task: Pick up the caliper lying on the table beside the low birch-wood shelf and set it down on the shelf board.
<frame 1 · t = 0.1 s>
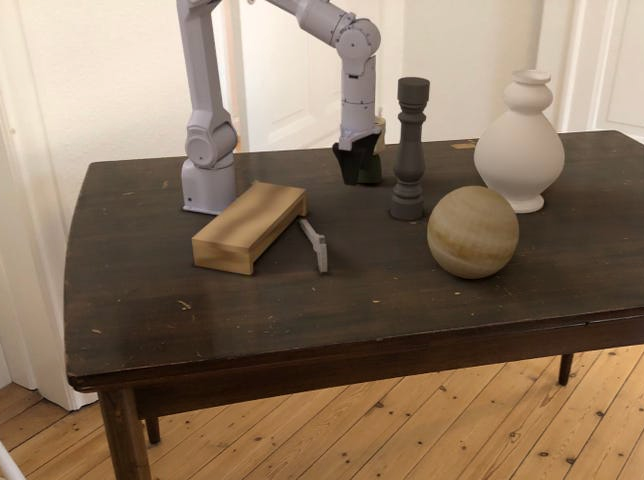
hand: (357, 177, 132), 10 cm above the table, tool pointing down, fingers open, 7 cm apart
decorative vase: (512, 201, 152), on the table
decorative ball: (468, 274, 126), on the table
candle holder: (406, 214, 145), on the table
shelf: (254, 237, 133), on the table
caliper: (312, 248, 131), on the table
character mug: (367, 182, 157), on the table
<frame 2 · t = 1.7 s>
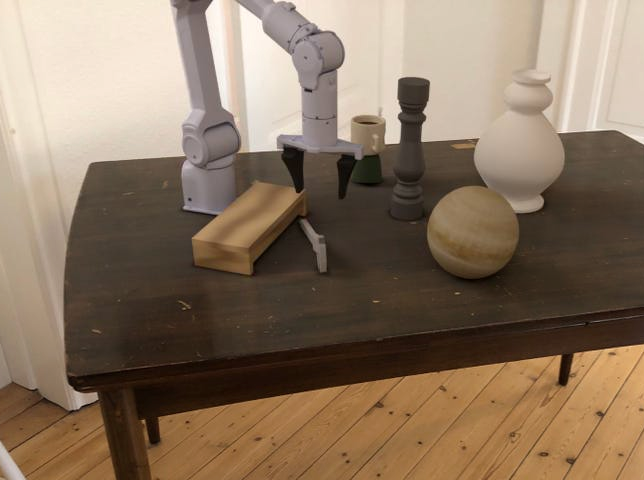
hand: (321, 194, 127), 9 cm above the table, tool pointing down, fingers open, 7 cm apart
nothing on the table moved.
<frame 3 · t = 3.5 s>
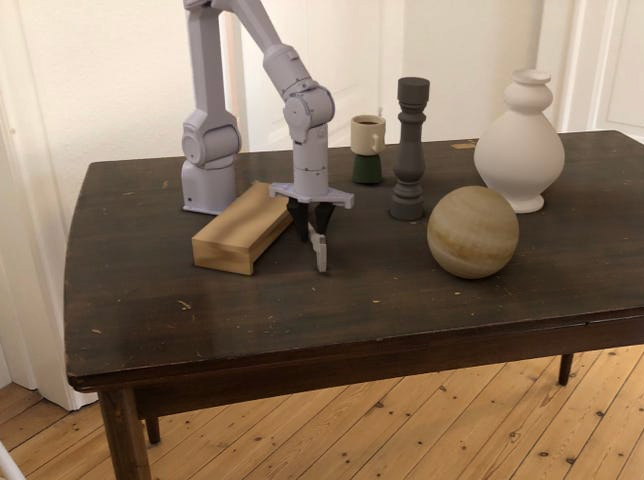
hand: (312, 239, 130), 1 cm above the table, tool pointing down, fingers closed on caliper, 2 cm apart
caliper: (312, 248, 131), on the table, touching gripper
everything else where it was.
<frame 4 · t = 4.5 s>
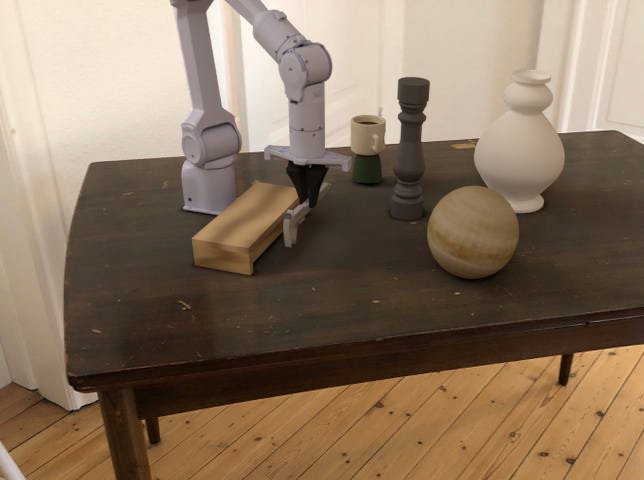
hand: (308, 205, 126), 8 cm above the table, tool pointing down, fingers closed on caliper, 1 cm apart
caliper: (310, 217, 128), point 6 cm above the table, touching gripper
everything else where it was.
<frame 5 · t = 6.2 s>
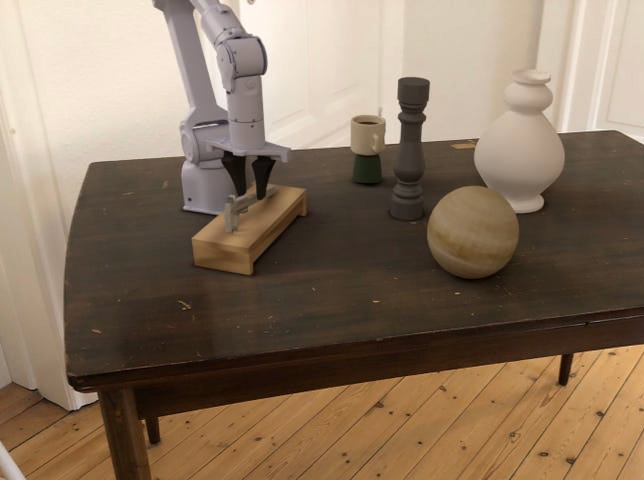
hand: (251, 196, 128), 8 cm above the table, tool pointing down, fingers open, 3 cm apart
caliper: (254, 212, 130), point 5 cm above the table, touching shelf
everything else where it was.
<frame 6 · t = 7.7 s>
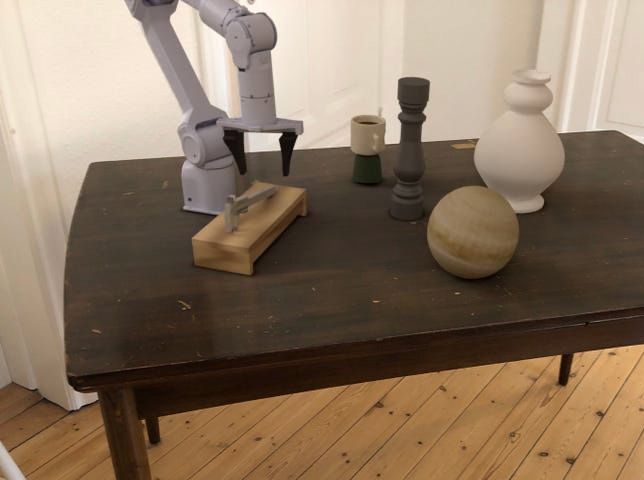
hand: (264, 173, 130), 10 cm above the table, tool pointing down, fingers open, 7 cm apart
nothing on the table moved.
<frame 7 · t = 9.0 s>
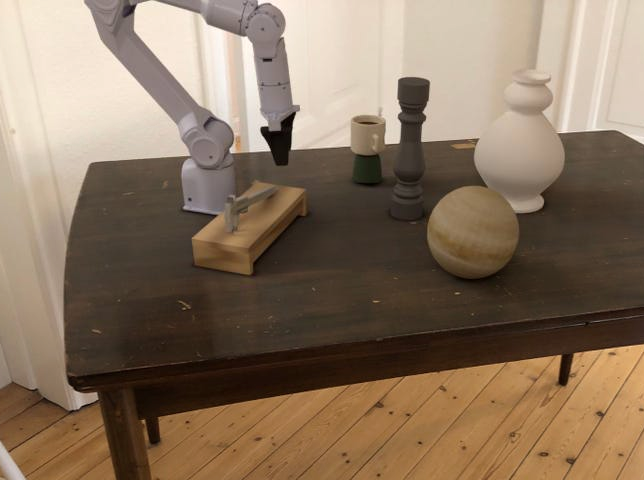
hand: (283, 157, 137), 10 cm above the table, tool pointing down, fingers open, 7 cm apart
nothing on the table moved.
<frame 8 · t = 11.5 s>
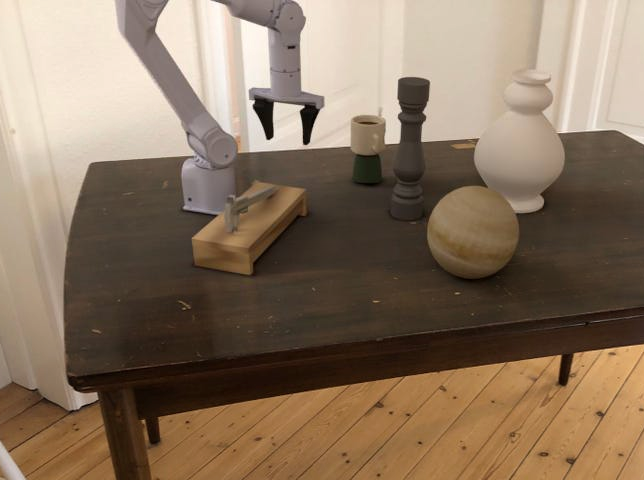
hand: (288, 141, 145), 10 cm above the table, tool pointing down, fingers open, 7 cm apart
nothing on the table moved.
at the end: caliper inside the target area on the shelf (0.3 cm from its centre), point 4.8 cm above the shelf's base; caliper touching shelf; the gripper is holding nothing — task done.
